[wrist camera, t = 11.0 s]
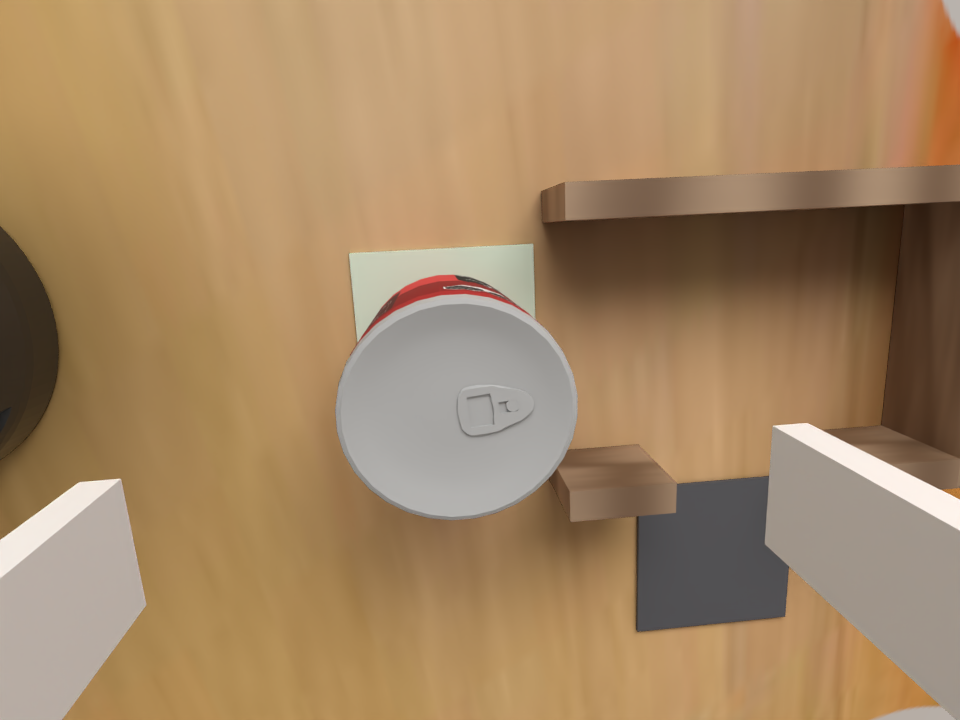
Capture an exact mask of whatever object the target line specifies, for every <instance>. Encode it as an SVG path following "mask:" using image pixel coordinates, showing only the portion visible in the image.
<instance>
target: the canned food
mask: <svg viewBox="0 0 960 720" xmlns="http://www.w3.org/2000/svg"><path fill="white" fill-rule="evenodd" d="M335 413H336V425H337V433H338V437H339V440H340V443H341V446H342V449H343V453H344V455H345V456H346V458H347V460H348V462H349V463H350V465H351V467H352V469H353V470H354V472H355V473H356V474H357V476H358V477H359V478H360V479H361V480H362V481H363V482H364V483H365V485H366V486H367V487H368V488H369V489H370V490H371V491H373V492H374V493H375V494H377V495H378V496H379V497H381V498H382V499H383V500H385V501H386V502H388V503H390V504H392V505H394V506H396V507H398V508H400V509H402V510H404V511H406V512H409V513H412V514H416V515H419V516H423V517H427V518H433V519H443V520H462V519H474V518H478V517H482V516H486V515H490V514H494V513H497V512H499V511H502V510H504V509H506V508H508V507H511V506H513V505H515V504H517V503H519V502H520V501H522V500H523V499H525V498H526V497H528V496H529V495H531V494H532V493H533V492H535V491H536V490H537V489H538V488H539V487H540V486H541V485H542V484H543V483H544V482H545V481H546V480H547V479H548V478H549V477H550V476H551V475H552V474H553V473H554V471H555V470H556V468H557V467H558V465H559V464H560V463H561V461H562V460H563V458H564V456H565V454H566V452H567V450H568V447H569V445H570V443H571V441H572V438H573V434H574V430H575V425H576V420H577V391H576V386H575V381H574V376H573V373H572V371H571V369H570V366H569V364H568V362H567V360H566V357H565V355H564V353H563V351H562V349H561V348H560V346H559V345H558V344H557V342H556V341H555V340H554V338H553V337H552V336H551V334H550V333H549V332H548V331H547V330H546V329H545V328H544V327H543V326H542V325H541V324H540V323H539V322H538V321H536V320H535V319H534V318H533V317H532V316H531V315H530V314H529V313H528V312H526V311H525V310H524V309H522V308H521V307H520V306H518V305H517V304H516V303H514V302H513V301H512V300H510V299H509V298H508V297H506V296H505V295H504V294H502V293H501V292H500V291H498V290H497V289H495V288H493V287H492V286H490V285H488V284H487V283H485V282H482V281H479V280H477V279H474V278H471V277H466V276H460V275H436V276H432V277H428V278H423V279H420V280H418V281H416V282H413V283H411V284H409V285H407V286H405V287H404V288H402V289H401V290H399V291H398V292H397V293H395V294H394V295H393V296H392V297H391V298H390V299H389V300H388V301H387V302H386V303H385V304H384V305H383V306H382V307H381V309H380V310H379V312H378V313H377V315H376V316H375V318H374V319H373V321H372V322H371V323H370V325H369V326H368V328H367V329H366V331H365V332H364V334H363V335H362V337H361V338H360V340H359V342H358V343H357V345H356V346H355V348H354V350H353V351H352V353H351V354H350V357H349V359H348V360H347V362H346V365H345V367H344V370H343V373H342V376H341V379H340V381H339V386H338V393H337V401H336V409H335Z"/></svg>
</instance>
